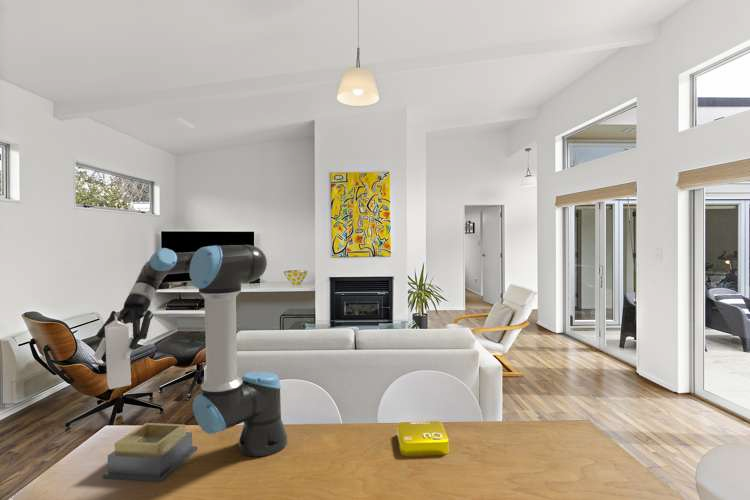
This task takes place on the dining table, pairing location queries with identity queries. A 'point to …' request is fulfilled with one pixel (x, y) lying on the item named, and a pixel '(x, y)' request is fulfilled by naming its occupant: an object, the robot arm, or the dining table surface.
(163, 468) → the grey tan square box
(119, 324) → the milk
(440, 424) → the element tile
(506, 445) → the dining table surface
